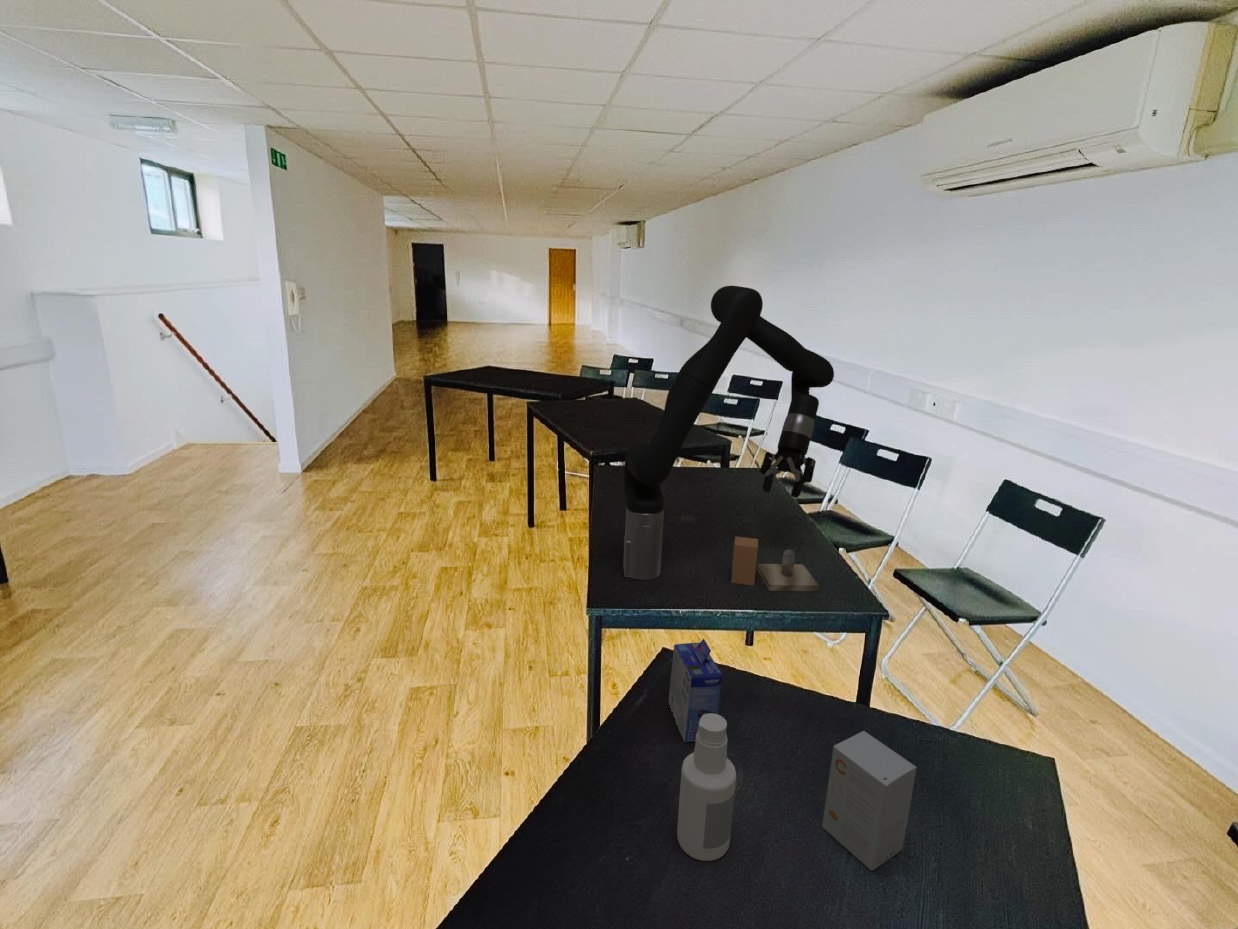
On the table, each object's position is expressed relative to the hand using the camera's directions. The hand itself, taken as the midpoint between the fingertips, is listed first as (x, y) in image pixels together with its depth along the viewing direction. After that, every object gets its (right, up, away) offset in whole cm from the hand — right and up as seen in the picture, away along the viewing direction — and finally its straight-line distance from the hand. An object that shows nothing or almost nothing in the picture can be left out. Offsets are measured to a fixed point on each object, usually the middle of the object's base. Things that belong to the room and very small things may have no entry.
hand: (779, 494), depth 161 cm
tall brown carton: (-10, -21, -4) cm, 24 cm away
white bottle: (-30, -41, -79) cm, 94 cm away
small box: (-9, -42, -78) cm, 89 cm away
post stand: (+1, -21, -3) cm, 21 cm away
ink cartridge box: (-29, -35, -57) cm, 73 cm away
